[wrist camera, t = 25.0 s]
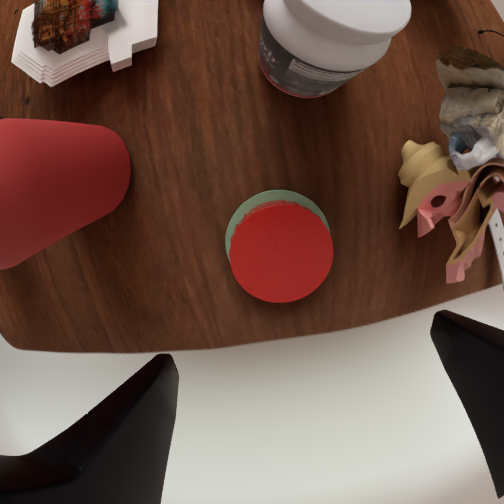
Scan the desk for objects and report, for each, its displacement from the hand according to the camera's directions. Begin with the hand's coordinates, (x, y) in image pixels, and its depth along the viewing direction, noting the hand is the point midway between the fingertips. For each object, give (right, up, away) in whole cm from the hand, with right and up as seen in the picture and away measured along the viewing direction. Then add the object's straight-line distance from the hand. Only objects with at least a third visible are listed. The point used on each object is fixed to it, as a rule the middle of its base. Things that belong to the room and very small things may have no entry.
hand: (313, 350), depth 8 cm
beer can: (-13, +9, +9) cm, 18 cm away
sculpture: (+12, +12, +1) cm, 17 cm away
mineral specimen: (-13, +20, +5) cm, 25 cm away
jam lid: (0, +3, +9) cm, 9 cm away
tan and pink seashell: (+12, +8, +9) cm, 17 cm away
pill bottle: (+1, +15, +6) cm, 17 cm away
